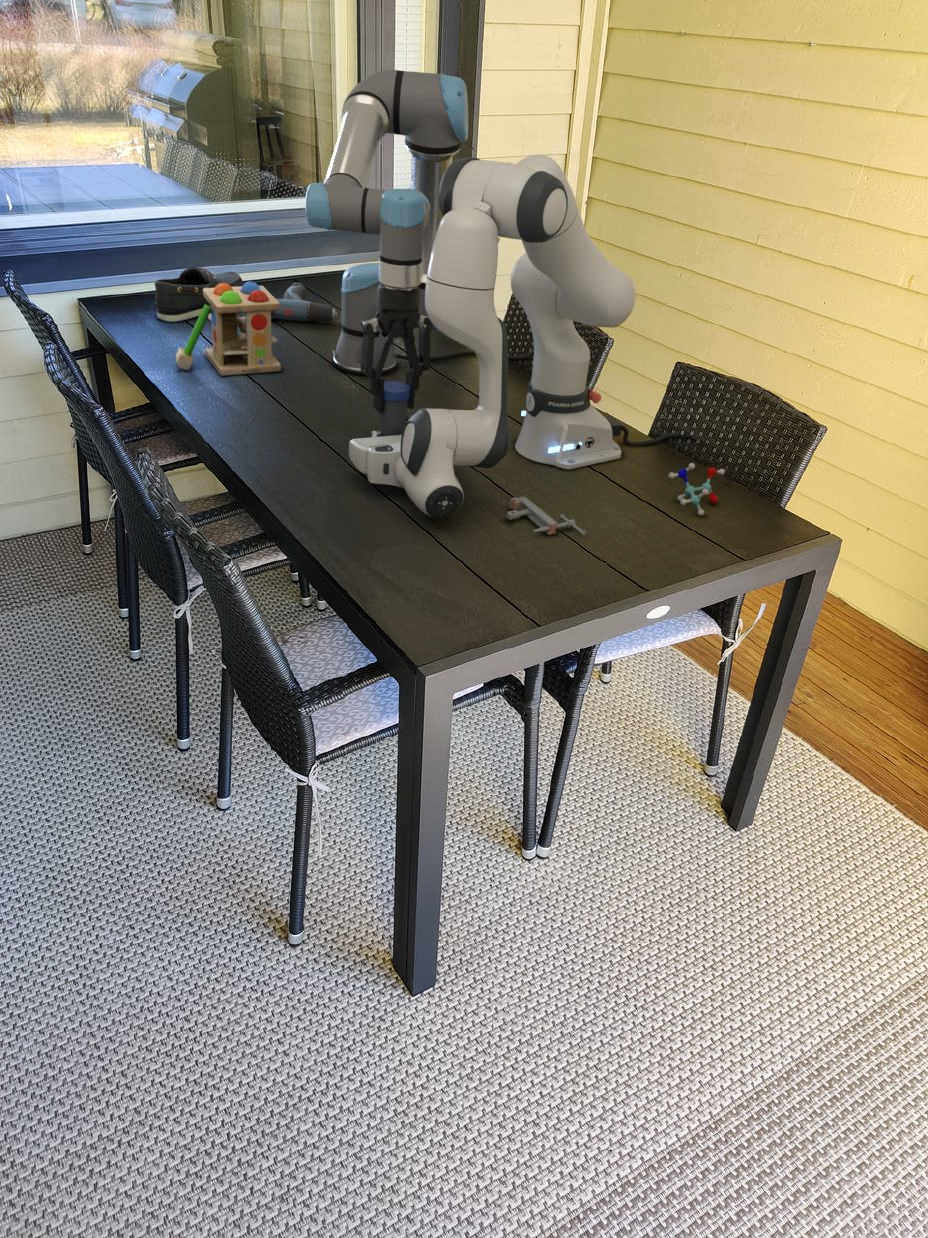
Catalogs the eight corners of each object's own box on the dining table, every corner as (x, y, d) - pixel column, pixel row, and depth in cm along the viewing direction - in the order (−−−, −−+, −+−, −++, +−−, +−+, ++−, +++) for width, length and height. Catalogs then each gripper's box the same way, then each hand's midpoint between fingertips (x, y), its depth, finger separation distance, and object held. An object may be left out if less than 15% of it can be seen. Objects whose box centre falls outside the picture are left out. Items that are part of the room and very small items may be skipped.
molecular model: (729, 509, 182) (714, 457, 180) (679, 523, 185) (663, 472, 184) (733, 500, 192) (719, 451, 191) (686, 514, 196) (671, 466, 194)
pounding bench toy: (183, 379, 220) (176, 299, 210) (169, 357, 231) (162, 280, 221) (282, 371, 230) (280, 294, 220) (264, 350, 240) (262, 276, 230)
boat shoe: (262, 300, 274) (260, 262, 268) (174, 323, 250) (170, 282, 245) (229, 292, 279) (226, 254, 274) (139, 314, 256) (134, 273, 250)
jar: (388, 473, 191) (392, 395, 182) (373, 463, 194) (375, 386, 185) (409, 467, 193) (413, 390, 185) (393, 457, 197) (397, 382, 188)
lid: (391, 403, 182) (391, 394, 181) (373, 393, 185) (373, 384, 184) (415, 397, 185) (416, 388, 184) (397, 387, 189) (397, 379, 188)
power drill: (344, 304, 276) (335, 327, 259) (277, 298, 275) (264, 321, 258) (344, 285, 273) (335, 306, 256) (277, 279, 272) (264, 300, 255)
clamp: (496, 500, 180) (542, 491, 184) (495, 510, 181) (540, 501, 185) (542, 538, 169) (588, 528, 174) (540, 549, 170) (586, 539, 175)
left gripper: (436, 275, 181) (428, 395, 194) (342, 281, 172) (340, 406, 185) (455, 287, 175) (446, 410, 188) (358, 294, 167) (356, 421, 180)
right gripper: (468, 442, 182) (441, 413, 192) (362, 452, 175) (341, 421, 185) (465, 473, 186) (439, 443, 196) (361, 484, 178) (340, 452, 189)
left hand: (393, 407), depth 187 cm, fingers closed on lid, 6 cm apart
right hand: (390, 432), depth 191 cm, fingers closed on jar, 5 cm apart
